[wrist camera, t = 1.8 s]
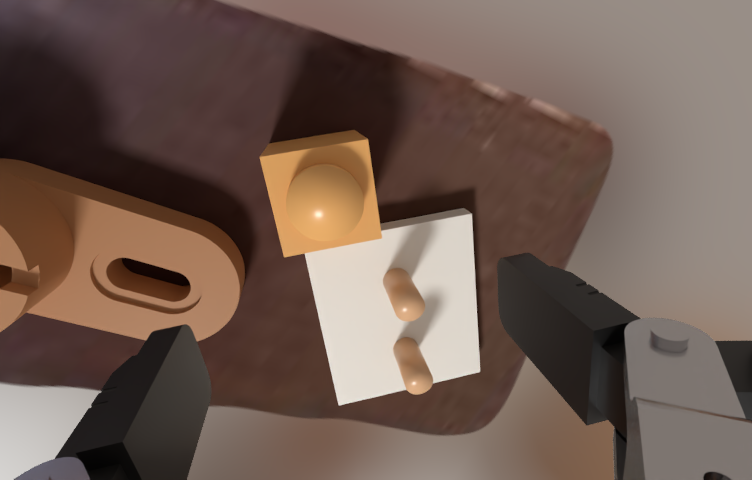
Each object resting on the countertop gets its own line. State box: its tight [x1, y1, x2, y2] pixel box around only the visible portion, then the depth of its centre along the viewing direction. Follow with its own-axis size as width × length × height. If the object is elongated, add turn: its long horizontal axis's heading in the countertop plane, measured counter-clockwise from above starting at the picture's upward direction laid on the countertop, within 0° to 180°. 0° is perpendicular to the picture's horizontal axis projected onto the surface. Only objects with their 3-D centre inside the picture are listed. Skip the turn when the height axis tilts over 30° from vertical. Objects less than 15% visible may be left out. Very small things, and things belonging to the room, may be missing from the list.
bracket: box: [0, 158, 245, 341], centre depth 23 cm, size 18×8×7 cm, turn 66°
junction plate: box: [305, 208, 480, 405], centre depth 29 cm, size 12×14×6 cm
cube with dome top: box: [260, 130, 382, 257], centre depth 24 cm, size 6×6×7 cm
